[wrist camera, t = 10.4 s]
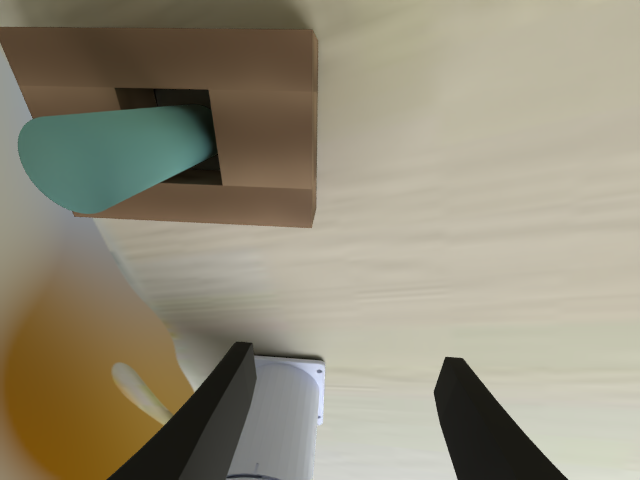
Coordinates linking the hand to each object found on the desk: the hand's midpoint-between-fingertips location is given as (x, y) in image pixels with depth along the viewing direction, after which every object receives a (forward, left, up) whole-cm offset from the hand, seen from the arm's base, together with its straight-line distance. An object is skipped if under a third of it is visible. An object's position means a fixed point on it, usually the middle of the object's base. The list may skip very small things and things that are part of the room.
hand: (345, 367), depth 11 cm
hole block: (+7, +9, -10) cm, 15 cm away
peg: (+7, +9, -10) cm, 15 cm away
